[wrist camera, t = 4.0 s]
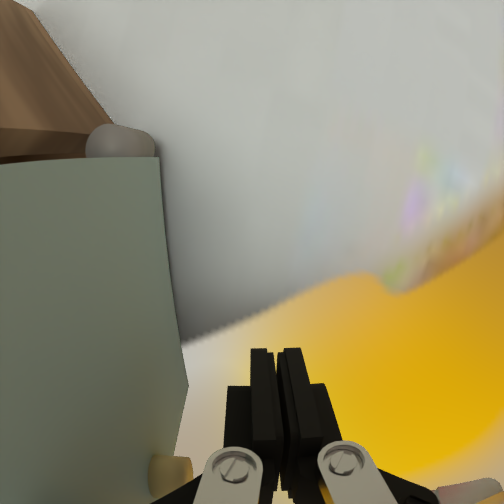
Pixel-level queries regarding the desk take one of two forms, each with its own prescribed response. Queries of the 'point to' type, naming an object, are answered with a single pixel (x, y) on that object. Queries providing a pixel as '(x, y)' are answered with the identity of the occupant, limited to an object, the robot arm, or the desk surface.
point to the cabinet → (40, 94)
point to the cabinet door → (88, 329)
